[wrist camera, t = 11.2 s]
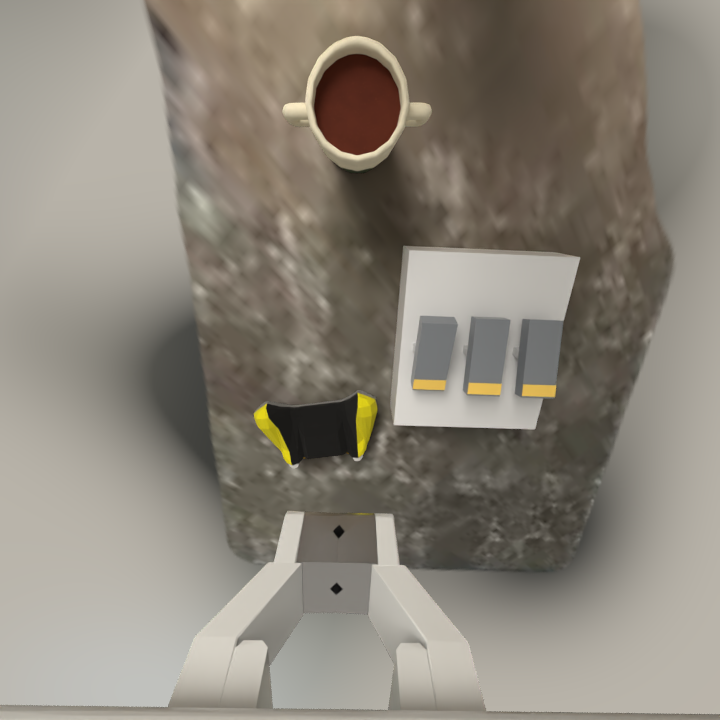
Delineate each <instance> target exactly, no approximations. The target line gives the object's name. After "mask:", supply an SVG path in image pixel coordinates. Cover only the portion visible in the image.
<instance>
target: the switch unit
mask: <svg viewBox="0 0 720 720" xmlns="http://www.w3.org/2000/svg"><path fill="white" fill-rule="evenodd" d="M579 261H580V257H576V256H571V255H566V254H561V253H556V252H539V251H516V250H492V249H468V248H444V247H421V246H403V256H402V268H401V280H400V292H399V304H398V316H397V328H396V340H395V352H394V364H393V376H392V389H391V401H390V406H391V412H392V418H393V423H394V425H408V426H441V427H474V428H507V429H535V427H536V424H537V420H538V416H539V412H540V408H541V405H542V401H543V398H521V397H519V396H518V395H516V394H515V386H516V376H517V367H518V357H519V347H520V337H521V327H522V319H538V320H560V321H564V318H565V314H566V310H567V306H568V302H569V299H570V295H571V291H572V287H573V284H574V280H575V276H576V272H577V268H578V265H579ZM420 316H444V317H455V319H456V321H457V323H458V327H457V332H456V336H455V341H454V346H453V351H452V355H451V360H450V365H449V370H448V374H447V379H446V385H445V390H444V391H425V390H412V386H411V375H412V368H413V361H414V354H415V347H416V340H417V333H418V326H419V320H420ZM471 316H473V317H500V318H507V319H509V320H511V321H510V328H509V335H508V342H507V349H506V356H505V363H504V370H503V376H502V383H501V384H502V386H501V393H500V397H498V396H467V395H466V394H465V392H464V391H463V383H464V374H465V366H466V357H467V349H468V340H469V332H470V323H471Z"/></svg>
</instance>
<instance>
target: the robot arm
mask: <svg viewBox="0 0 720 720" xmlns="http://www.w3.org/2000/svg"><path fill="white" fill-rule="evenodd" d="M303 613H347V614H348V613H349V614H367V615H368V617H369V619H370V620H371V623H372V624H373V626H374V628H375V630H376V632H377V634H378V635H379V637H380V639H381V641H382V643H383V645H384V646H385V648H386V650H387V652H388V654H389V656H390V658H391V659H392V661H393V663H394V670H393V677H392V685H391V692H390V700H389V707H388V710H353V709H352V710H350V709H347V710H346V709H273V704H272V691H271V679H270V667H269V666H270V665H271V663H272V662H273V660H274V659H275V657H276V656H277V654H278V653H279V651H280V650H281V648H282V647H283V645H284V643H285V642H286V641H287V639H288V638H289V636H290V635H291V633H292V632H293V630H294V629H295V627H296V626H297V624H298V623H299V621H300V620H301V618H302V617H303ZM0 720H720V714H648V713H647V714H645V713H572V712H571V713H570V712H496V711H494V712H492V711H486V708H485V704H484V700H483V697H482V692H481V689H480V685H479V681H478V677H477V673H476V670H475V666H474V662H473V658H472V654H471V650H470V647H469V643H468V642H467V640H466V639H465V638H464V637H463V635H462V634H461V633H460V632H459V630H458V629H457V628H456V627H455V626H454V624H453V623H452V622H451V621H450V620H449V618H448V617H447V616H446V615H445V614H444V612H443V611H442V610H441V609H440V607H439V606H438V605H437V604H436V602H435V601H434V600H433V599H432V598H431V596H430V595H429V594H428V593H427V591H426V590H425V589H424V588H423V587H422V585H421V584H420V583H419V582H418V581H417V579H416V578H415V577H414V576H413V574H412V573H411V572H410V571H409V569H408V568H407V567H406V566H405V565H400V563H399V555H398V547H397V539H396V531H395V523H394V516H393V515H392V514H376V513H375V514H374V513H325V512H306V511H305V512H299V511H287V513H286V515H285V518H284V522H283V526H282V530H281V535H280V539H279V543H278V547H277V552H276V556H275V560H274V562H268V563H267V564H266V565H265V566H264V567H263V568H262V569H261V570H260V571H259V572H258V573H257V574H256V575H255V577H253V578H252V579H251V581H249V582H248V583H247V584H246V586H245V587H244V588H243V589H242V590H241V591H240V592H239V593H238V594H237V595H236V596H235V597H234V598H233V599H232V600H231V601H230V602H229V603H228V604H227V605H226V606H225V607H224V608H223V609H222V610H221V611H220V612H219V613H218V614H217V615H216V616H215V617H214V618H213V619H212V620H211V621H210V622H209V623H208V624H207V625H206V626H205V627H204V628H203V629H202V630H201V631H200V632H199V633H198V634H197V635H196V636H195V637H194V640H193V643H192V645H191V648H190V651H189V653H188V656H187V658H186V661H185V664H184V666H183V669H182V671H181V674H180V676H179V679H178V682H177V684H176V687H175V689H174V692H173V695H172V697H171V700H170V702H169V705H168V707H118V706H116V707H115V706H41V705H40V706H38V705H36V706H35V705H34V706H33V705H0Z"/></svg>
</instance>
